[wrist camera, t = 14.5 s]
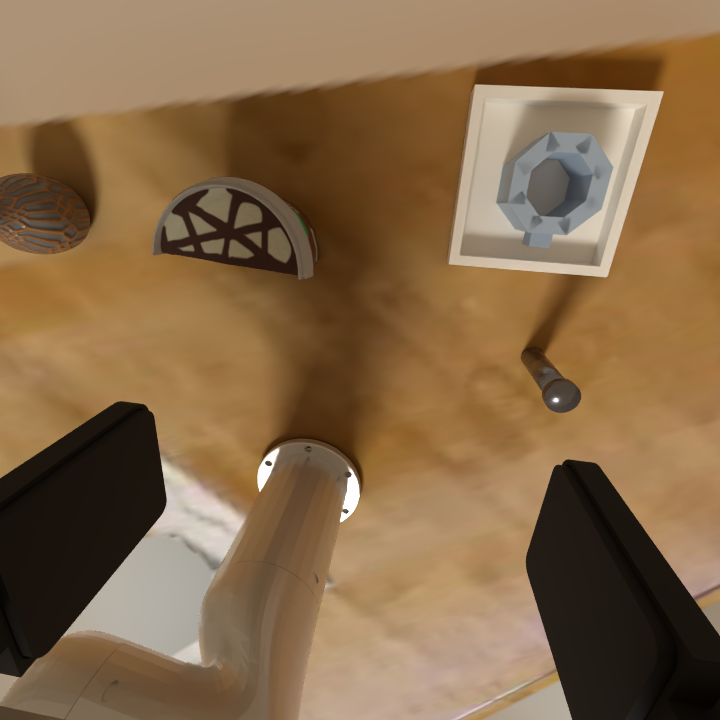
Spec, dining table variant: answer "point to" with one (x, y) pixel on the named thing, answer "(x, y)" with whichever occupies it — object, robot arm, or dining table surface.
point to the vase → (41, 214)
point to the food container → (237, 228)
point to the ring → (583, 189)
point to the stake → (551, 382)
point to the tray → (546, 174)
